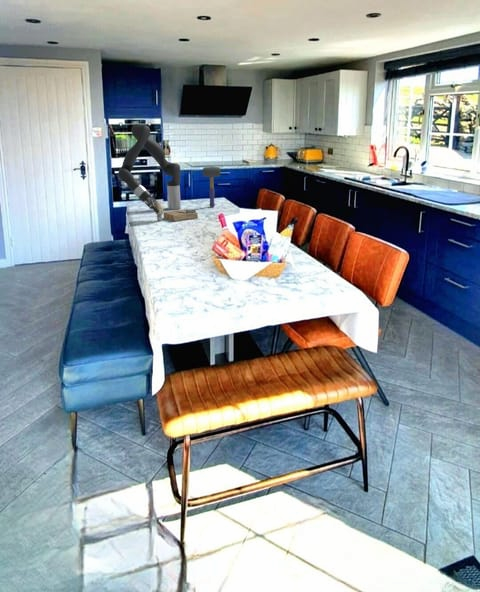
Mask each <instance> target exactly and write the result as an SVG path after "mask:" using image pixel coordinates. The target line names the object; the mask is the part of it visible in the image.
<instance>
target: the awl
mask: <svg viewBox="0 0 480 592" xmlns="http://www.w3.org/2000/svg"><path fill="white" fill-rule="evenodd" d="M157 202H158V203H155V207H156V208H157V209H158V210H159V212H158V213H156V212H155V211H154V213H155V215H156V219H157V222H162V221H163V215H164V203H163V202H161V201H157Z"/></svg>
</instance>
